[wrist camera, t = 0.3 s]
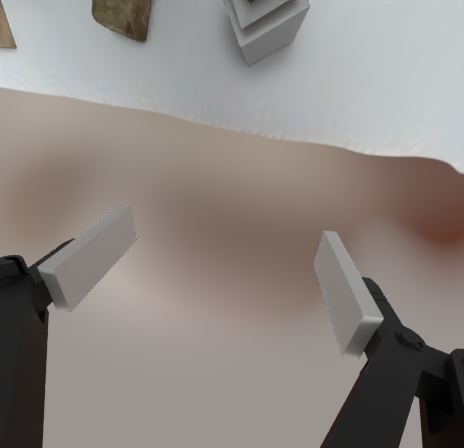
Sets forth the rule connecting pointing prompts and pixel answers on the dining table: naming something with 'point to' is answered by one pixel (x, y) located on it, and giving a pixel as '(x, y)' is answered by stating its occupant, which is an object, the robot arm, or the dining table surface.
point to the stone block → (123, 16)
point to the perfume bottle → (265, 25)
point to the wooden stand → (5, 31)
